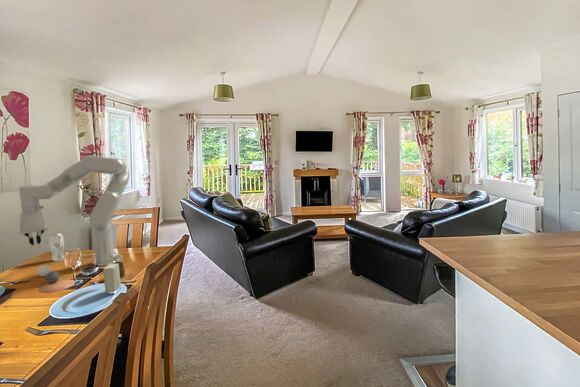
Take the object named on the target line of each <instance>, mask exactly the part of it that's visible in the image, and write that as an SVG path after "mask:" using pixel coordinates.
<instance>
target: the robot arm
mask: <svg viewBox="0 0 580 387" xmlns="http://www.w3.org/2000/svg"><path fill="white" fill-rule="evenodd" d="M93 173H97V174H98V173H99V174H108V175H112V176H111V179H110V181H109V182H108V184H107V186H106V188H105V189H104V191H103V192H102V194H101V195H100V197H99V198H98V200H97V202H96V204H95V206H94V208H93V209H92V210H91V213H90V214H89V217H88V220H89V223H90V225H91V228H92V229H91V230H92V239H93V248H94V249H93V250H94V258H95V261H96V263H93V262H92V265H93V264H96V265H98V266H97V267H103V266H104V267H105V266H107V265H108V264H112V260H111V259H110V256H109V255H110V254H111V256H112V258H113V263H115V262H119V259H124V255H123V254H121V253H120V254H117V253H116V252H115V248H114V238H113V237H114V236H113V228H112V227H113V225H112V217H113V215H114V213H115V211H116V209H117V208H118V206H119V203H120V200H121V197H122V195H123V194H124V192H125V189H126V187H127V185H128V183H129V180H130V171H129V168H128V166H127V164H126V163H125V161H123V159H120V158H118V157H114V158H112V157H103V156H99V155H98V156H97V155H94V154H91V155H90V154H89V155H86V156H85V157H83V158H82V159H81V160H79V161H77V162H75V163H74V164H72V165H70V166H69V167H67V168H66V169H64V171H63V172H62V173H60V174H59V175H57V176H56V177H55V178H53V179H51V180H50V181H48V182H46V183H45V184H42V185H32V184H30V185H22V186H20V187H19V188H18V190H19V200H20V205H21V212H20V213H19V228H20V230H19V231H18V232H19V233H18V234H19V235H20V236H25V237H27V238H28V241H29V244H30V245H31V246H34V245H35V242H34V237H33V235H32V232H36V236H35V239H36V244H37V245H40V244H41V242H42V238H41V236H42V235H43V234H44V233H45V232H47V231H48V230H49V228H48V227H47V224H46V219H45V216H44V213H43V211H42V209H44V205H41V204H40V200H50V199H53V197H55V196H57V195H58V194H60V193H61V192H64V190H65V189H67V188H70V187H71V186H73V185H76V184H77V183H79V182H80V181H83V179H85V178H87V177H88V176H90V175H91V174H93ZM121 256H123V257H122V258H121ZM119 257H120V258H119Z"/></svg>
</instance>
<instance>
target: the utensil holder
mask: <svg viewBox="0 0 580 387" xmlns="http://www.w3.org/2000/svg"><path fill="white" fill-rule="evenodd" d="M109 256H110V259H111V260H112V264H118V263H119V272H120V279H121V278H124V277H125V276H126V272H125V271H126V269H125V266H124V262H123V260H124V259H123V258H124V255H123V256H121V258H120V257H119V258H118V261H117V262H115V263H113V258H112V256H111V254H110V255H109ZM122 257H123V258H122Z"/></svg>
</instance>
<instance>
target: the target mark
mask: <svg viewBox="0 0 580 387" xmlns="http://www.w3.org/2000/svg"><path fill="white" fill-rule="evenodd" d="M75 284H76V280H73V279H59V280H58V281H57V282H55V283H49V282H47V283H46V284H44V285H41V286H40V287H39V289H38V290H39V292H41V293H55V292H59V291H63V290H66V289H69V288H71V287H73V286H74V285H75Z"/></svg>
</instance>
